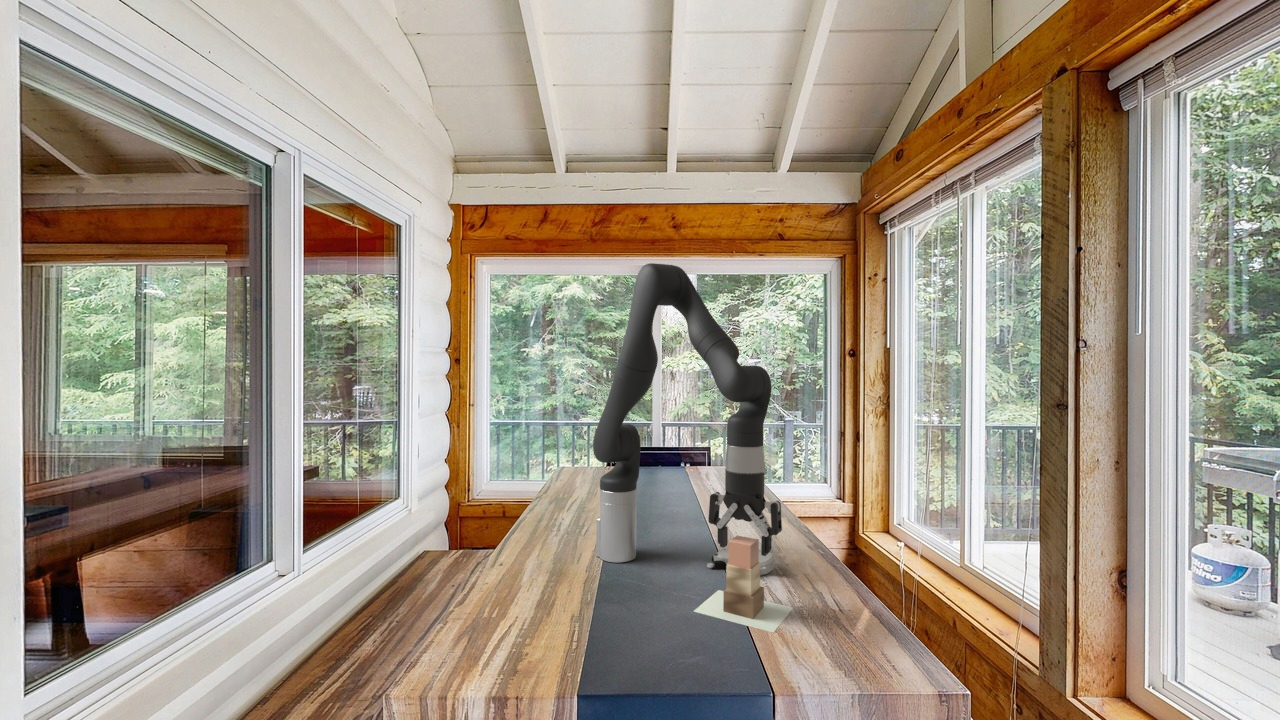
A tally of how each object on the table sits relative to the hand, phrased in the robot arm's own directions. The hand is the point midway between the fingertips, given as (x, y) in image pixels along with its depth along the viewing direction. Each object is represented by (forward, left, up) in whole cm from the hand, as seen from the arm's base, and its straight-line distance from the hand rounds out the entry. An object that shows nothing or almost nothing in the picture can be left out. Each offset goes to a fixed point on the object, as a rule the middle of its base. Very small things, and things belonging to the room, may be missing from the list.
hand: (744, 550), depth 113 cm
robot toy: (-9, +22, -13) cm, 27 cm away
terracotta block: (0, 0, -3) cm, 3 cm away
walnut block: (0, 0, -12) cm, 12 cm away
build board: (0, 0, -13) cm, 13 cm away
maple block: (0, 0, -8) cm, 8 cm away
